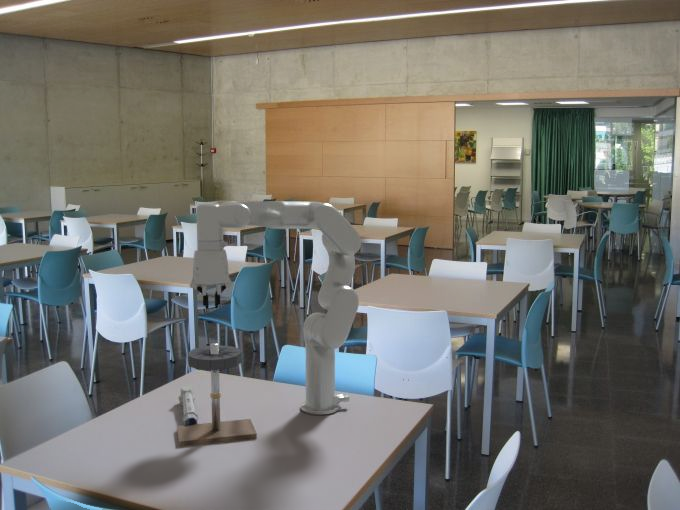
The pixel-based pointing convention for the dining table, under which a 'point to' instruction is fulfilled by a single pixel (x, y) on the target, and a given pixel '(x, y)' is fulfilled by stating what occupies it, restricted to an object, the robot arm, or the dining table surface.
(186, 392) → the white cylindrical tool
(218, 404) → the steel pipe
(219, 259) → the robot arm
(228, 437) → the pipe stand base
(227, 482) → the dining table surface
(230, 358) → the grey faceted washer
